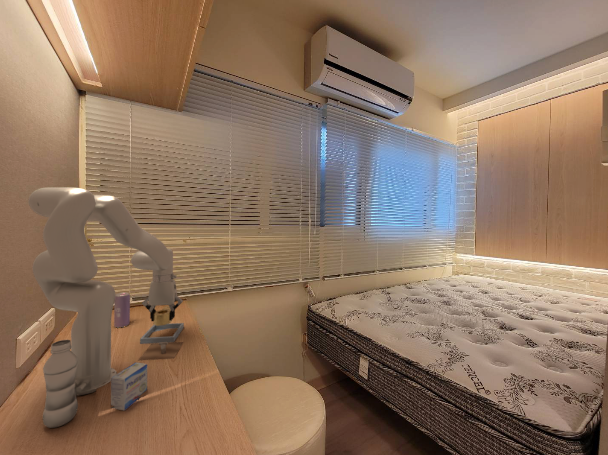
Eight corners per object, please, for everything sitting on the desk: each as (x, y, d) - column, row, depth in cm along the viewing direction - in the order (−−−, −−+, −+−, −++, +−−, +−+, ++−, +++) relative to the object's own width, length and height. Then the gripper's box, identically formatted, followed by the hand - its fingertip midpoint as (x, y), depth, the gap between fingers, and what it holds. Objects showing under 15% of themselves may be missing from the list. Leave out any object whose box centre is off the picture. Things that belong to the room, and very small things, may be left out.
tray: (173, 344, 105) (174, 337, 105) (139, 346, 103) (140, 338, 103) (183, 329, 120) (183, 323, 120) (154, 330, 117) (154, 324, 117)
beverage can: (132, 323, 125) (133, 292, 124) (122, 328, 119) (123, 296, 118) (121, 322, 125) (121, 292, 125) (110, 327, 119) (111, 295, 119)
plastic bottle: (74, 408, 69) (75, 334, 69) (80, 421, 65) (81, 342, 64) (40, 422, 64) (40, 342, 64) (44, 437, 60) (44, 352, 59)
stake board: (174, 360, 93) (174, 347, 93) (137, 363, 91) (137, 349, 91) (183, 344, 106) (183, 332, 106) (151, 346, 104) (151, 333, 103)
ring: (168, 325, 107) (168, 314, 107) (151, 326, 106) (151, 315, 106) (176, 315, 117) (175, 305, 117) (160, 316, 116) (160, 306, 116)
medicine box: (124, 411, 69) (124, 379, 68) (110, 408, 70) (110, 377, 69) (147, 392, 76) (148, 363, 76) (134, 390, 77) (135, 361, 77)
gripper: (187, 275, 114) (186, 315, 115) (144, 276, 111) (144, 317, 112) (182, 279, 107) (182, 322, 108) (136, 280, 104) (136, 324, 104)
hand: (162, 319), depth 110 cm, fingers closed on ring, 6 cm apart
